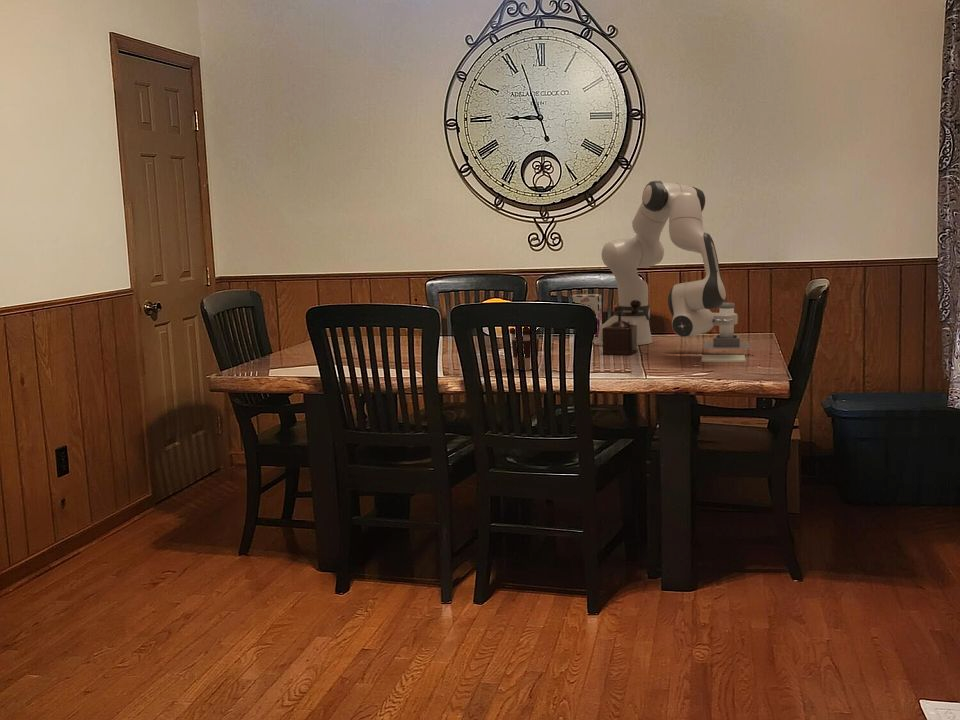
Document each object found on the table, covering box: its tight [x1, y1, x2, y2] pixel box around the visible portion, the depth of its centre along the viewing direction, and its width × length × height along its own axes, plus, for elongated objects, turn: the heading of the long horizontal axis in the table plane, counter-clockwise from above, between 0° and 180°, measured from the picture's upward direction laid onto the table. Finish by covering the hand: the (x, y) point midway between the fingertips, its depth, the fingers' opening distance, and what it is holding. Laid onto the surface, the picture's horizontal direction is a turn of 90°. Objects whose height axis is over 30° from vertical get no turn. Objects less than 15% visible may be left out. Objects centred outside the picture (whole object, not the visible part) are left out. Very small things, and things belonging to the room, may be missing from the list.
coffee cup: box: [509, 327, 541, 371], centre depth 342 cm, size 10×10×15 cm
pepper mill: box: [602, 300, 641, 356], centre depth 372 cm, size 16×11×18 cm
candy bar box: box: [571, 293, 603, 337], centre depth 417 cm, size 11×5×16 cm, turn 71°
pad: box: [701, 353, 746, 363], centre depth 351 cm, size 14×14×1 cm
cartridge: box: [718, 301, 735, 338], centre depth 373 cm, size 5×5×15 cm
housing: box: [702, 334, 751, 350], centre depth 374 cm, size 16×16×4 cm
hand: (714, 316), depth 363 cm, fingers open, 8 cm apart
